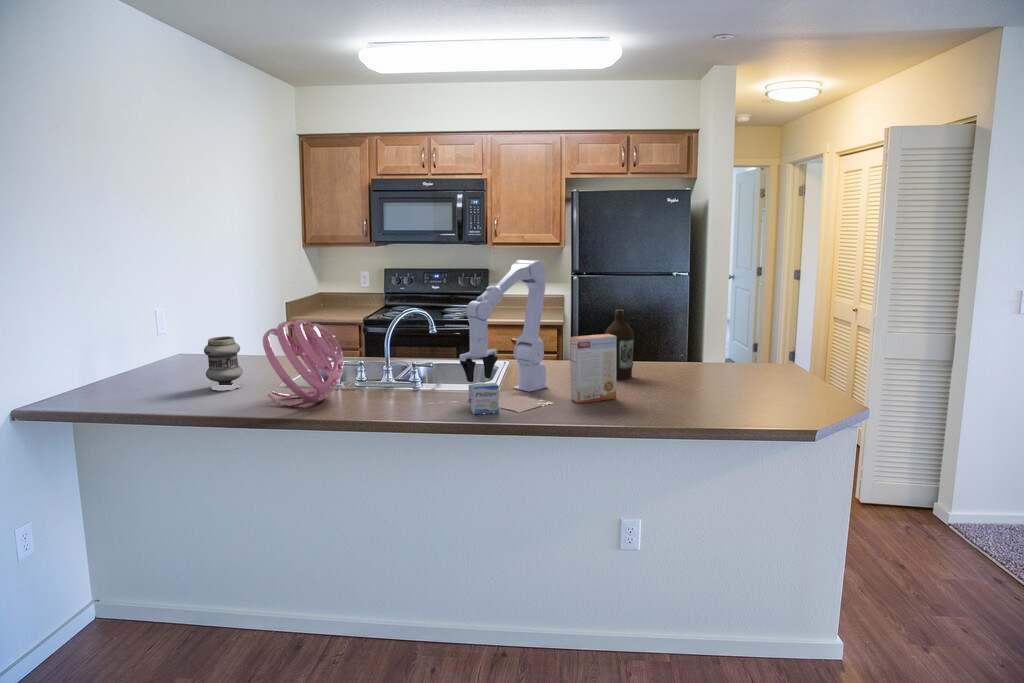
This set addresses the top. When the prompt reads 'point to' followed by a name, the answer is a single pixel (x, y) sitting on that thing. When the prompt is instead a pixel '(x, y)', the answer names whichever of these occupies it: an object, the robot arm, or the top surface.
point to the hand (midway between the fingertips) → (479, 379)
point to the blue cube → (470, 389)
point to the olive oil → (622, 345)
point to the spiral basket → (306, 360)
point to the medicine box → (484, 398)
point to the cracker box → (593, 368)
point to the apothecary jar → (223, 360)
